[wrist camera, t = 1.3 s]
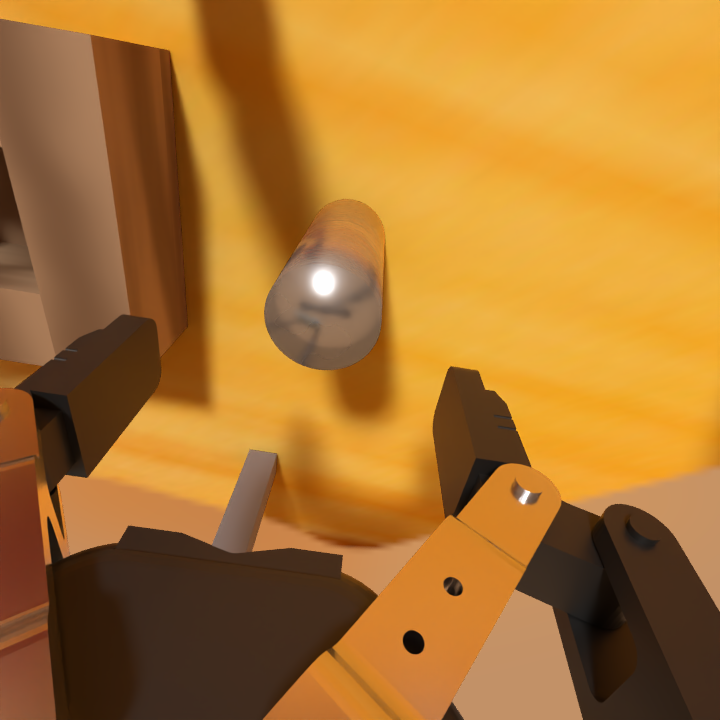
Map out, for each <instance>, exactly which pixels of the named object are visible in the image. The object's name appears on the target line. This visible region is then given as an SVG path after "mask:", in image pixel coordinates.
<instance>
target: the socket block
mask: <svg viewBox="0 0 720 720" xmlns="http://www.w3.org/2000/svg"><path fill="white" fill-rule="evenodd" d="M123 314H125V315H132V316H138V317H144V318H151V319H153V320H154V321H155V322H156V325H157V332H158V341H159V351H160V357H161V356H162V355H163V354H164V353H165V352H166V351H167V350H168V348H169V347H170V346H171V345H172V344H173V343H174V342H175V340H176V339H177V338H178V337H179V336H180V335H181V334H182V332H183V331H184V330H185V329H186V328H187V327H188V323H187V308H186V293H185V278H184V263H183V248H182V233H181V218H180V203H179V188H178V173H177V158H176V143H175V128H174V113H173V98H172V83H171V68H170V53H169V50H164V49H159V48H154V47H149V46H144V45H139V44H134V43H129V42H124V41H119V40H114V39H109V38H104V37H99V36H94V35H89V34H83V33H77V32H72V31H66V30H60V29H55V28H49V27H43V26H38V25H32V24H26V23H21V22H15V21H9V20H4V19H0V359H1V360H8V361H14V362H20V363H27V364H33V365H40V366H43V365H45V364H46V363H47V362H48V361H50V360H51V359H53V360H54V357H55V356H56V355H57V354H59V353H60V352H61V351H62V350H66V347H67V346H69V345H70V344H71V343H73V342H74V341H75V340H76V339H78V338H79V337H81V336H83V335H86V334H88V333H91V332H93V331H96V330H98V329H102V330H103V329H104V328H106V327H107V326H108V325H109V324H110V323H112V322H113V321H114V320H115V319H116V318H118V317H119V316H120V315H123Z"/></svg>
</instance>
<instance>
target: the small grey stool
mask: <svg viewBox="0 0 720 720" xmlns="http://www.w3.org/2000/svg"><path fill="white" fill-rule="evenodd" d="M276 463H277V454H275V453H269V452H262V451H256V450H250V451H249V453H248V456H247V458H246V461H245V463H244V466H243V468H242V471H241V473H240V476H239V478H238V481H237V483H236V486H235V488H234V491H233V493H232V496H231V498H230V501H229V504H228V506H227V509H226V511H225V514H224V516H223V519H222V521H221V524H220V526H219V529H218V531H217V534H216V536H215V539H214V541H213V544H212V546H215V547H217V548H220V549H222V550H225V551H227V552H230V553H245V552H252V549H253V546H254V543H255V540H256V536H257V533H258V530H259V526H260V523H261V520H262V517H263V513H264V510H265V507H266V504H267V500H268V497H269V494H270V490H271V487H272V484H273V481H274V477H275V474H276Z"/></svg>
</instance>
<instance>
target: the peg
mask: <svg viewBox="0 0 720 720" xmlns="http://www.w3.org/2000/svg"><path fill="white" fill-rule="evenodd" d="M384 248H385V233H384V228H383V225H382V222H381V220H380V218H379V217H378V215H377V214H376V213H375V212H374V211H373V210H372V209H371V208H370V207H369V206H367V205H366V204H364V203H362V202H359V201H356V200H350V199H342V200H337V201H334V202H332V203H329V204H328V205H326V206H325V207H324V208H322V209H321V210H320V211H319V213H318V214H317V215H316V217H315V219H314V220H313V222H312V223H311V225H310V227H309V228H308V230H307V232H306V233H305V235H304V236H303V238H302V240H301V241H300V243H299V245H298V246H297V248H296V249H295V251H294V253H293V254H292V256H291V257H290V259H289V261H288V262H287V264H286V266H285V267H284V269H283V270H282V272H281V274H280V275H279V277H278V279H277V280H276V282H275V283H274V285H273V287H272V288H271V290H270V292H269V294H268V296H267V299H266V303H265V310H264V314H265V323H266V327H267V330H268V333H269V335H270V337H271V339H272V340H273V342H274V343H275V345H276V346H277V347H278V348H279V350H280V351H282V352H283V353H284V354H285V355H286V356H287V357H289V358H290V359H292V360H293V361H295V362H297V363H299V364H301V365H303V366H306V367H309V368H313V369H319V370H335V369H341V368H345V367H348V366H350V365H353V364H355V363H357V362H358V361H360V360H361V359H363V358H364V357H365V356H366V355H367V354H368V353H369V352H370V351H371V350H372V348H373V347H374V345H375V344H376V342H377V339H378V337H379V334H380V330H381V321H382V296H383V272H384Z"/></svg>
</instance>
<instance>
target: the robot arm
mask: <svg viewBox="0 0 720 720" xmlns="http://www.w3.org/2000/svg"><path fill="white" fill-rule="evenodd" d="M160 377H161V361H160V351H159V341H158V332H157V325H156V322H155V321H154V320H153V319H151V318H144V317H138V316H132V315H125V314H123V315H120V316H119V317H118V318H116V319H115V320H114V321H113V322H112V323H110V324H109V325H108V326H107V327H106V328H104V329H103V330H102V329H98V330H96V331H93V332H91V333H88V334H86V335H83V336H81V337H79V338H78V339H76V340H75V341H74V342H73V343H71V344H70V345H69V346H67V347H66V350H62V351H61V352H60V353H59V354H57V355H56V356H55V357H54V360H53V359H51V360H50V361H48V362H47V363H46V364H45V365H43V366H42V367H41V368H40V369H38V370H37V371H36V372H35V373H33V374H32V375H31V376H29V377H28V378H27V379H26V380H24V381H23V382H22V383H21V384H19V385H18V386H17V387H15V388H14V389H13V388H0V720H464V719H463V717H462V716H461V715H460V713H459V711H458V710H457V709H456V707H455V705H454V704H453V703H452V700H453V698H454V697H455V695H456V693H457V691H458V689H459V688H460V686H461V684H462V682H463V681H464V679H465V677H466V675H467V674H468V672H469V670H470V668H471V666H472V665H473V663H474V661H475V659H476V657H477V656H478V654H479V652H480V650H481V649H482V647H483V645H484V643H485V641H486V640H487V638H488V636H489V634H490V632H491V631H492V629H493V627H494V625H495V623H496V622H497V620H498V618H499V616H500V615H501V613H502V611H503V609H504V608H505V606H506V603H507V602H508V600H509V599H510V596H511V595H512V593H513V591H514V590H515V589H516V590H518V591H520V592H522V593H525V594H527V595H529V596H532V597H533V598H535V599H538V600H540V601H542V602H544V603H546V604H549V605H551V606H552V607H553V610H554V614H555V618H556V622H557V625H558V629H559V633H560V636H561V640H562V643H563V648H564V651H565V655H566V658H567V662H568V666H569V670H570V673H571V677H572V680H573V684H574V688H575V691H576V695H577V699H578V702H579V706H580V710H581V713H582V717H583V720H720V612H719V610H718V608H717V607H716V605H715V603H714V602H713V600H712V598H711V597H710V595H709V593H708V592H707V590H706V588H705V586H704V585H703V583H702V581H701V580H700V578H699V577H698V575H697V573H696V571H695V570H694V568H693V566H692V565H691V563H690V561H689V560H688V558H687V556H686V555H685V553H684V551H683V550H682V548H681V546H680V545H679V543H678V541H677V540H676V538H675V537H674V535H673V534H672V533H671V532H670V530H669V529H668V528H667V527H666V526H664V524H662V523H661V522H660V521H659V520H657V519H656V518H655V517H653V516H652V515H650V514H648V513H647V512H645V511H643V510H641V509H638V508H636V507H633V506H629V505H624V504H615V505H611V506H609V507H608V508H607V509H606V510H605V511H604V513H603V514H602V516H601V517H600V516H598V515H595V514H593V513H590V512H588V511H585V510H582V509H580V508H577V507H575V506H572V505H570V504H568V503H566V502H564V501H562V500H561V496H560V493H559V491H558V489H557V488H556V486H555V485H554V484H553V482H552V481H550V480H549V479H548V478H547V477H546V476H545V475H543V474H542V473H540V472H539V471H537V470H535V469H533V468H532V467H531V465H530V462H529V460H528V457H527V455H526V452H525V449H524V447H523V444H522V442H521V439H520V437H519V434H518V432H517V431H516V427H515V424H514V422H513V420H511V418H512V417H511V414H510V412H509V409H508V407H507V404H506V403H505V402H504V401H503V400H502V399H501V398H500V397H499V396H498V395H497V393H496V392H495V391H490V390H485V388H484V385H483V382H482V380H481V377H480V374H479V372H478V371H477V370H471V369H465V368H458V367H452V366H451V367H450V368H449V369H448V371H447V374H446V377H445V380H444V384H443V387H442V390H441V393H440V397H439V400H438V403H437V406H436V410H435V414H434V419H433V437H434V444H435V451H436V458H437V465H438V472H439V479H440V486H441V493H442V500H443V507H444V513H445V520H444V521H443V522H442V523H441V524H440V525H439V527H438V528H437V529H436V530H435V531H434V532H433V534H432V535H431V536H430V537H429V538H428V539H427V540H426V542H425V543H424V544H423V545H422V546H421V548H420V549H419V550H418V551H417V552H416V553H415V555H414V556H413V557H412V558H411V559H410V560H409V561H408V563H407V564H406V565H405V566H404V567H403V568H402V569H401V571H400V572H399V573H398V574H397V575H396V576H395V577H394V579H393V580H392V581H391V582H390V583H389V584H388V586H387V587H386V588H385V589H384V590H383V591H382V592H381V594H380V595H379V596H378V595H377V594H376V593H374V592H373V591H372V590H371V589H370V588H368V587H367V586H365V585H364V584H363V583H361V582H360V581H358V580H356V579H354V578H352V577H351V576H348V575H346V574H344V573H342V572H341V568H342V557H343V555H337V554H330V553H321V552H315V551H308V550H301V549H294V548H287V549H277V550H266V551H256V552H245V553H230V552H227V551H225V550H222V549H220V548H217V547H215V546H212V545H210V544H207V543H205V542H203V541H200V540H198V539H195V538H193V537H190V536H188V535H186V534H183V533H179V532H171V531H164V530H156V529H150V528H142V527H135V526H128V528H127V529H126V531H125V533H124V534H123V536H122V538H121V539H120V541H119V543H113V544H107V545H102V546H97V547H94V548H90V549H87V550H84V551H81V552H78V553H76V554H73V555H70V552H69V546H68V540H67V532H66V526H65V519H64V512H63V506H62V500H61V493H60V489H59V486H58V483H59V482H60V480H61V479H62V478H63V477H64V476H65V475H71V476H78V477H85V478H87V477H88V476H89V475H90V474H91V472H92V471H93V470H94V468H95V467H96V466H97V465H98V463H99V462H100V461H101V459H102V458H103V457H104V456H105V454H106V453H107V452H108V450H109V449H110V448H111V447H112V445H113V444H114V443H115V441H116V440H117V439H118V438H119V436H120V435H121V434H122V432H123V431H124V430H125V429H126V427H127V426H128V425H129V424H130V422H131V421H132V420H133V418H134V417H135V416H136V415H137V413H138V412H139V411H140V409H141V408H142V407H143V406H144V404H145V403H146V402H147V400H148V399H149V398H150V397H151V395H152V394H153V393H154V391H155V390H156V388H157V386H158V384H159V381H160Z"/></svg>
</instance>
